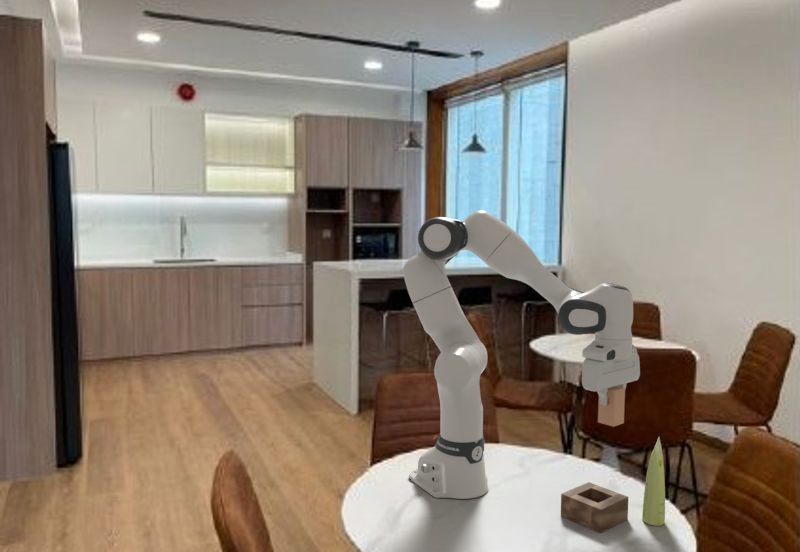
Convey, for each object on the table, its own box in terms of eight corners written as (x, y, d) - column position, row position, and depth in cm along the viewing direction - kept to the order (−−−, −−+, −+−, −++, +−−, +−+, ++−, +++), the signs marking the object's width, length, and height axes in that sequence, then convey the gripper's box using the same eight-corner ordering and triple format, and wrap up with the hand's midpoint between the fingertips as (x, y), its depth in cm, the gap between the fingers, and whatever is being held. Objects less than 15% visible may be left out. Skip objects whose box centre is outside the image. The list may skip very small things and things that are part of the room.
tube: (671, 526, 151) (674, 444, 150) (651, 528, 150) (654, 446, 149) (656, 515, 157) (659, 436, 155) (637, 517, 156) (640, 437, 154)
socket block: (560, 515, 157) (561, 493, 156) (588, 503, 164) (588, 482, 163) (600, 533, 148) (601, 509, 148) (627, 519, 155) (628, 496, 155)
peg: (597, 422, 165) (598, 387, 164) (608, 418, 168) (609, 384, 167) (613, 426, 161) (614, 390, 161) (623, 423, 164) (625, 388, 163)
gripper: (625, 341, 172) (623, 393, 173) (577, 351, 159) (576, 406, 160) (647, 345, 167) (645, 398, 168) (600, 355, 154) (598, 413, 155)
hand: (611, 402), depth 164 cm, fingers closed on peg, 4 cm apart
